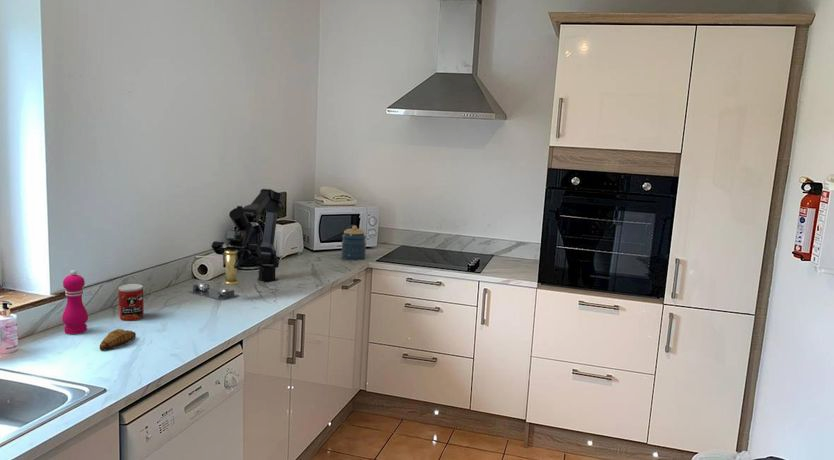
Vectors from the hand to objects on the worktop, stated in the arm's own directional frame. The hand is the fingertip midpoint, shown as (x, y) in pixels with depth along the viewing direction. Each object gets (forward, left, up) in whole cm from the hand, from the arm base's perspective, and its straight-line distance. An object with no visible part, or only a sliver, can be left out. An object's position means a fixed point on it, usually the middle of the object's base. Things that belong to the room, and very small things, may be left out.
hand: (229, 267), depth 234 cm
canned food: (+36, -3, -14) cm, 39 cm away
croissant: (+50, +20, -14) cm, 56 cm away
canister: (-95, -32, -14) cm, 101 cm away
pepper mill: (+55, 0, -14) cm, 57 cm away
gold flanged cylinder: (-1, -1, -7) cm, 7 cm away
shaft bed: (-1, -13, -13) cm, 19 cm away
